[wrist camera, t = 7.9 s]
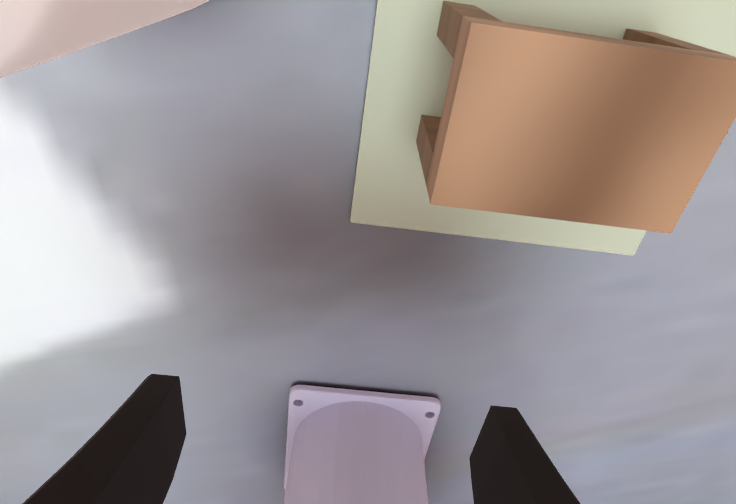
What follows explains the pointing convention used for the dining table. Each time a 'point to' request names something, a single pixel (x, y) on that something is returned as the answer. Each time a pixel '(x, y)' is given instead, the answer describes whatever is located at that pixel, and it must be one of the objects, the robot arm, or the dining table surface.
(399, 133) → the mat
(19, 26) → the can
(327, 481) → the robot arm
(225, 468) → the dining table surface
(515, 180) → the stool
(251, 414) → the dining table surface
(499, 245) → the dining table surface
